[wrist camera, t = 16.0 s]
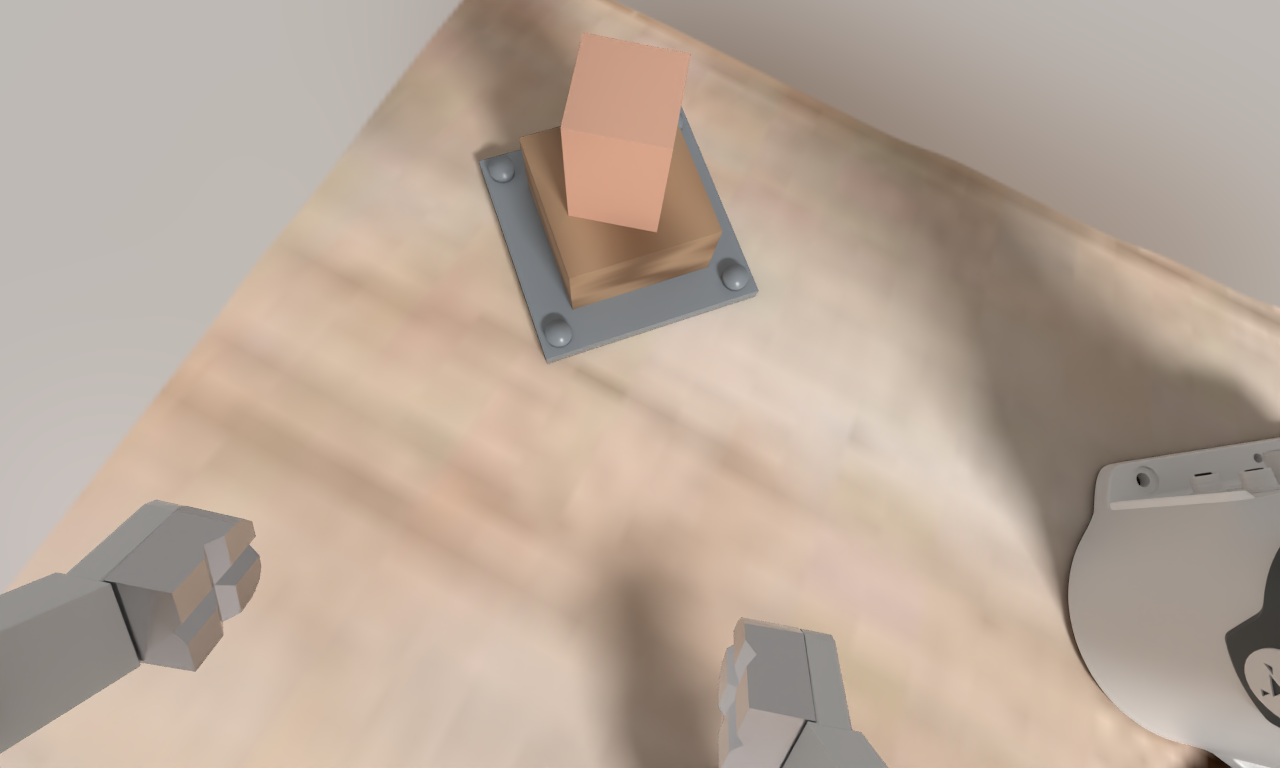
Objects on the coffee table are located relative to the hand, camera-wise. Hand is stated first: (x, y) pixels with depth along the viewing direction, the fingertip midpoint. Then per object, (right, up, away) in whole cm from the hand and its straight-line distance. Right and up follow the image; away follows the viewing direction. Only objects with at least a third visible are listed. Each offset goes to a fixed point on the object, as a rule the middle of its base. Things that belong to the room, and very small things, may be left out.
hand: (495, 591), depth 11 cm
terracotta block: (+1, +15, +26) cm, 30 cm away
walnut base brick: (+1, +14, +31) cm, 34 cm away
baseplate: (+1, +13, +32) cm, 35 cm away
